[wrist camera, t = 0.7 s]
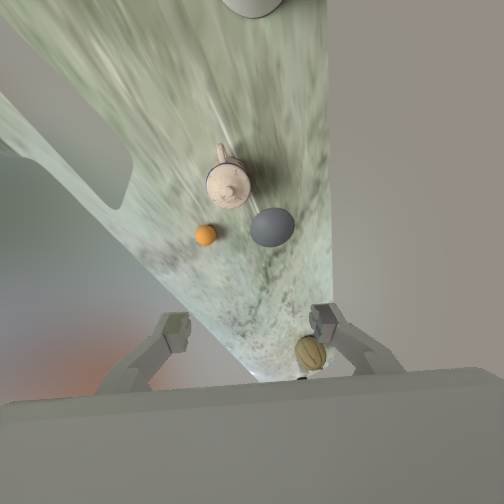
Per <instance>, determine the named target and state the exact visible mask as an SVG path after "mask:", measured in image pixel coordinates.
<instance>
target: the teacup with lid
mask: <svg viewBox="0 0 504 504" xmlns="http://www.w3.org/2000/svg"><path fill="white" fill-rule="evenodd" d="M217 152H218V156H219V160H218V161H217V162H216V163H215V164H214V166H213V168H212V170H211V171H210V172H209V174H208V176H207V180H206V189H207V193H208V195H209V197H210V198H211V200H212V201H213V202H214V203H215V204H217V205H218V206H220V207H222V208H227V209H233V208H237V207H239V206H241V205H242V204H244V203H245V202H246V201H247V199H248V198H249V195H250V192H251V181H250V178H249V176H248V174H247V171H246V168H245V167H244V165H243V164H242V163H241V162H240V161H239V160H237V159H235V158H232V157H227V156H226V152H225V148H224V145H223V144H222V143H220V144H218V145H217Z"/></svg>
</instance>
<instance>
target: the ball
mask: <svg viewBox="0 0 504 504" xmlns="http://www.w3.org/2000/svg"><path fill="white" fill-rule="evenodd" d="M195 237H196V240H197V241H198V242H199V243H200V244H202V245H210V244H212V243H213V242H214V241H215V238H216V233H215V230H214V229H213V228H212V227H210V226H208V225H203V226H200V227H199V228H198V229H197V230H196V233H195Z"/></svg>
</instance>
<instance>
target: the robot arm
mask: <svg viewBox="0 0 504 504" xmlns="http://www.w3.org/2000/svg"><path fill="white" fill-rule="evenodd" d="M222 1H223V2H224V3H225V4H226V5H227V6H228V7H229V8H230V9H231V10H233V11H234V12H236V13H237V14H239V15H241V16H244V17H248V18H257V17H261V16H264V15H266V14H268V13H270V12H271V11H273V10H274V9H275V8H276V7H277V6H278V5H279V4H280V3H281V1H282V0H222ZM310 309H311V312H310V313H309V322H310V325H311V328H312V329H314V330H315V331H314V335H315V338H316V340H317V343H331V344H332V345H333V346H334V347H335V348H336V349H337V350H338V351H339V352H341V354H343V356H344V357H345V358H346V359H347V360H349V361H350V362H351V363H352V364H353V365H354V366H355V367H356V369H355V371H354V373H353V375H352V376H347V377H346V376H345V377H333V378H319V379H305V380H292V381H279V382H265V383H252V384H239V385H226V386H212V387H199V388H186V389H172V390H159V391H152V389H151V387H150V386H149V384H148V382H149V381H150V379H151V378H152V377H153V376H154V375H155V373H156V372H157V371H158V370H159V369H160V367H161V366H162V365H163V364H164V363H165V361H166V360H167V359H168V358H169V357H170V355H171V353H181V352H185V351H186V348H187V344H188V339H187V338H188V337H189V336H190V333H191V320H189V319H188V318H189V314H188V312H169V313H163V314H162V315H161V317H160V319H159V321H158V323H157V325H156V327H155V329H154V332H153V334H152V335H151V336H148V337H147V338H146V339H145V340H143V341H142V342H141V343H140V344H139V345H137V346H136V347H135V348H134V349H133V350H131V351H130V352H129V353H128V354H127V355H125V356H124V357H123V358H122V359H121V360H120V361H118V362H117V363H116V364H115V365H113V366H112V367H111V368H110V369H109V371H108V373H107V374H106V376H105V377H104V379H103V381H102V383H101V384H100V386H99V387H98V389H97V391H96V392H95V394H94V395H93V396H79V397H66V398H52V399H39V400H23V401H14V402H9V403H6V404H4V405H2V406H0V504H504V379H502V378H500V377H498V376H496V375H495V374H492V373H490V372H488V371H486V370H484V369H481V368H477V367H465V368H452V369H439V370H425V371H412V372H406V371H405V369H404V368H403V367H402V365H401V364H400V363H399V362H398V360H397V359H396V357H395V356H394V355H393V354H392V352H391V351H390V350H389V349H388V348H386V347H385V346H384V345H382V344H381V343H379V342H378V341H376V340H375V339H373V338H372V337H370V336H369V335H367V334H366V333H364V332H363V331H361V330H360V329H358V328H357V327H355V326H354V325H352V324H351V323H348V322H347V321H346V319H345V318H344V316H343V314H342V313H341V311H340V310H339V308H338V307H337V305H336V304H335V303H327V304H326V303H325V304H312V305H311V308H310Z"/></svg>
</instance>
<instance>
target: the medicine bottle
mask: <svg viewBox="0 0 504 504" xmlns="http://www.w3.org/2000/svg"><path fill="white" fill-rule="evenodd" d="M290 366H291V370H292V375H293V377H297V380H305V379H307V376H306V375H308V374H309V372H308V369H306V368H304V367H303V366H302V365H301V364H300V363H299V361H298V360H296V361H294V362H293V363H291V364H290Z"/></svg>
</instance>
